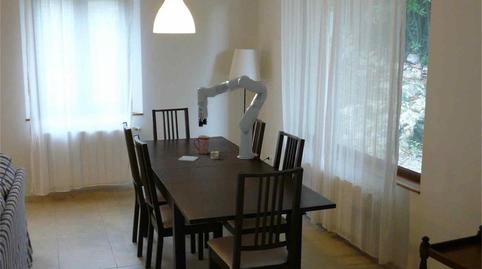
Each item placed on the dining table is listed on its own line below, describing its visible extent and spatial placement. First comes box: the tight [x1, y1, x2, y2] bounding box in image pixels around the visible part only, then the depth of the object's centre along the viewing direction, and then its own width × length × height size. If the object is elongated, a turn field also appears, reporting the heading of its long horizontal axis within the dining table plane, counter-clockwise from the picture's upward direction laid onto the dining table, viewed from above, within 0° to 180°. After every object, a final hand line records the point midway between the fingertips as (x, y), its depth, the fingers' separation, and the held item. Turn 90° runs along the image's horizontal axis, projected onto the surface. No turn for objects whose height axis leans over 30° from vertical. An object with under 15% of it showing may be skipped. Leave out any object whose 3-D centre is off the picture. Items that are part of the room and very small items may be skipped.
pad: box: [177, 155, 199, 162], centre depth 391 cm, size 12×12×1 cm
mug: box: [192, 135, 210, 155], centre depth 411 cm, size 13×9×14 cm
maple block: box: [210, 150, 220, 160], centre depth 395 cm, size 5×5×5 cm
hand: (202, 125), depth 398 cm, fingers open, 9 cm apart
